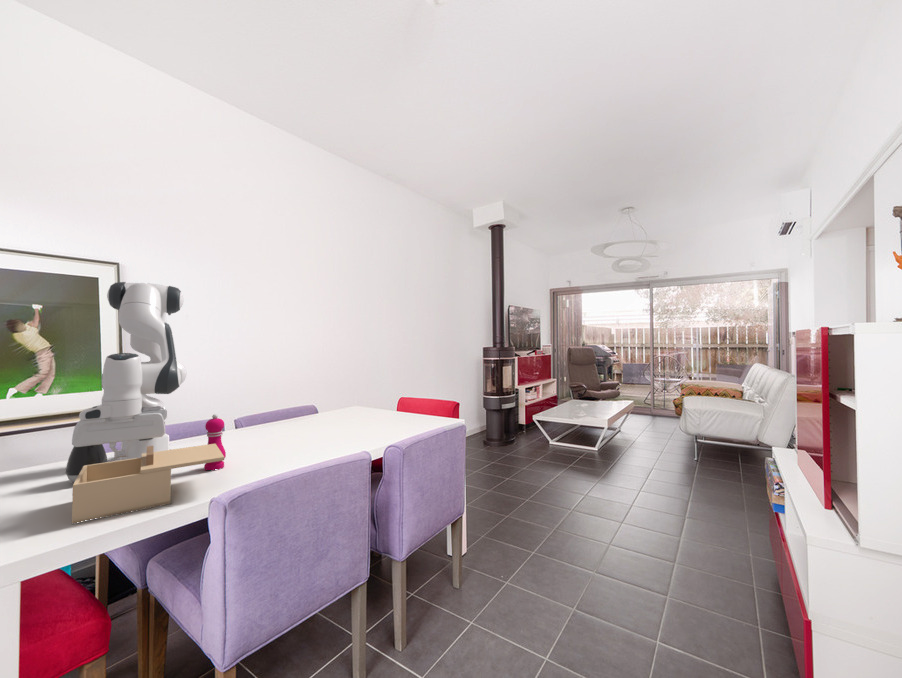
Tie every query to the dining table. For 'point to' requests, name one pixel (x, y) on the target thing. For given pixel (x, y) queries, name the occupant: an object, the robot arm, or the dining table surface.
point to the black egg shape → (84, 459)
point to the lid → (179, 457)
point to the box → (118, 489)
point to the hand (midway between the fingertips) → (121, 456)
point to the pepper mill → (215, 440)
